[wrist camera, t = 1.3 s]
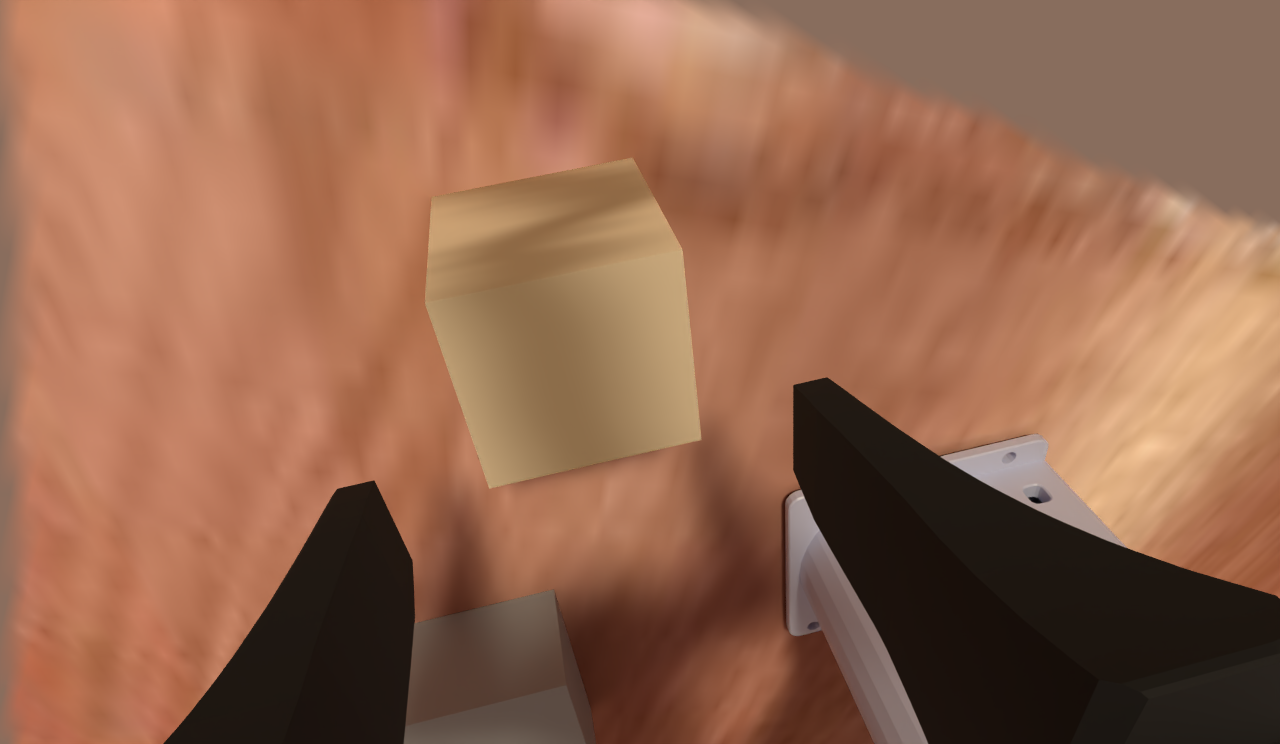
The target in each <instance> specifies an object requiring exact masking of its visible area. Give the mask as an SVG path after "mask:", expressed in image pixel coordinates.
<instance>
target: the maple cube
mask: <svg viewBox="0 0 1280 744" xmlns="http://www.w3.org/2000/svg"><path fill="white" fill-rule="evenodd" d="M425 305H426V308H427V311H428V313H429V316H430V319H431V322H432V325H433V328H434V331H435V334H436V336H437V339H438V342H439V345H440V348H441V351H442V354H443V357H444V359H445V362H446V365H447V368H448V371H449V374H450V377H451V380H452V383H453V385H454V388H455V391H456V394H457V397H458V400H459V403H460V406H461V408H462V411H463V414H464V417H465V420H466V423H467V426H468V429H469V431H470V434H471V437H472V440H473V443H474V446H475V449H476V452H477V454H478V457H479V460H480V463H481V466H482V469H483V472H484V475H485V477H486V480H487V483H488V486H489V489H490V488H494V487H498V486H503V485H507V484H511V483H516V482H520V481H524V480H529V479H533V478H537V477H542V476H546V475H550V474H555V473H559V472H563V471H568V470H572V469H577V468H581V467H585V466H590V465H594V464H598V463H603V462H607V461H611V460H616V459H620V458H624V457H629V456H633V455H637V454H642V453H646V452H650V451H655V450H659V449H663V448H668V447H672V446H676V445H681V444H685V443H689V442H694V441H698V440H701V431H700V421H699V411H698V401H697V391H696V381H695V371H694V361H693V351H692V341H691V331H690V321H689V311H688V301H687V290H686V280H685V270H684V260H683V250H682V248H681V246H680V244H679V242H678V240H677V239H676V237H675V235H674V233H673V231H672V229H671V228H670V226H669V224H668V222H667V220H666V218H665V216H664V215H663V213H662V211H661V209H660V207H659V205H658V204H657V202H656V200H655V198H654V196H653V194H652V193H651V191H650V189H649V187H648V185H647V183H646V181H645V180H644V178H643V176H642V174H641V172H640V170H639V169H638V167H637V165H636V163H635V161H634V159H633V158H628V159H623V160H618V161H613V162H608V163H603V164H598V165H593V166H588V167H582V168H577V169H572V170H567V171H562V172H557V173H552V174H547V175H542V176H537V177H531V178H526V179H521V180H516V181H511V182H506V183H501V184H496V185H491V186H485V187H480V188H475V189H470V190H465V191H460V192H455V193H450V194H445V195H440V196H434V197H432V199H431V214H430V230H429V246H428V261H427V277H426V292H425Z"/></svg>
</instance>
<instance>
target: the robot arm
mask: <svg viewBox="0 0 1280 744" xmlns="http://www.w3.org/2000/svg"><path fill="white" fill-rule="evenodd" d="M1047 450H1048V442H1047V441H1046V440H1045V439H1044V438H1043V437H1042V436H1041V435H1039V434H1032V435H1027V436H1023V437H1019V438H1015V439H1011V440H1006V441H1002V442H998V443H994V444H990V445H986V446H981V447H977V448H973V449H969V450H965V451H960V452H956V453H952V454H948V455H944V456H938V455H937V454H935V453H934V452H932V451H931V450H929V449H928V448H926V447H925V446H923V445H922V444H920V443H919V442H917V441H916V440H914V439H913V438H911V437H910V436H908V435H907V434H905V433H904V432H902V431H901V430H899V429H898V428H897V427H895V426H894V425H892V424H891V423H889V422H888V421H887V420H885V419H884V418H882V417H881V416H880V415H878V414H877V413H876V412H874V411H873V410H871V409H870V408H869V407H867V406H866V405H865V404H863V403H862V402H860V401H859V400H858V399H856V398H855V397H854V396H852V395H851V394H850V393H848V392H847V391H845V390H844V389H843V388H841V387H840V386H839V385H837V384H836V383H834V382H833V381H832V380H830V379H829V378H822V379H818V380H813V381H809V382H805V383H800V384H796V385H793V470H794V473H795V475H796V478H797V480H798V483H799V485H800V488H801V490H798V491H795V492H793V493H792V494H790V495H789V497H788V498H787V499H786V503H785V534H786V625H787V628H788V630H789V632H790V634H792V635H794V636H802V635H806V634H809V633H813V632H817V631H821V630H822V631H823V633H824V635H825V638H826V640H827V642H828V644H829V646H830V648H831V651H832V653H833V655H834V657H835V659H836V661H837V664H838V666H839V668H840V670H841V672H842V675H843V677H844V679H845V681H846V683H847V685H848V688H849V690H850V692H851V694H852V696H853V698H854V701H855V703H856V705H857V707H858V709H859V711H860V714H861V716H862V718H863V720H864V722H865V725H866V727H867V729H868V731H869V733H870V735H871V738H872V740H873V742H874V744H1280V599H1279V598H1278V597H1277V596H1275V595H1272V594H1268V593H1265V592H1262V591H1258V590H1255V589H1251V588H1248V587H1245V586H1241V585H1238V584H1234V583H1231V582H1228V581H1224V580H1221V579H1217V578H1214V577H1211V576H1207V575H1204V574H1200V573H1197V572H1194V571H1191V570H1187V569H1184V568H1181V567H1178V566H1176V565H1173V564H1170V563H1167V562H1164V561H1161V560H1158V559H1156V558H1153V557H1150V556H1147V555H1144V554H1141V553H1139V552H1136V551H1133V550H1130V549H1128V548H1127V547H1126V546H1125V545H1124V544H1123V543H1122V542H1121V541H1120V540H1119V539H1118V538H1117V537H1116V536H1115V534H1114V533H1113V532H1112V531H1111V530H1110V529H1109V528H1108V527H1107V526H1106V525H1105V524H1104V523H1103V522H1102V521H1101V520H1100V518H1099V517H1098V516H1097V515H1096V514H1095V513H1094V512H1093V511H1092V510H1091V509H1090V508H1089V507H1088V506H1087V505H1086V504H1085V503H1084V501H1083V500H1082V499H1081V498H1080V497H1079V496H1078V495H1077V494H1076V493H1075V492H1074V491H1073V490H1072V489H1071V488H1070V487H1069V485H1068V484H1067V483H1066V482H1065V481H1064V480H1063V479H1062V478H1061V477H1060V476H1059V475H1058V474H1057V473H1056V472H1055V471H1054V469H1053V468H1052V467H1051V466H1050V465H1049V464H1048V463H1047V462H1046V461H1045V457H1046V454H1047ZM414 622H415V607H414V581H413V562H412V559H411V557H410V554H409V552H408V550H407V548H406V546H405V544H404V542H403V540H402V538H401V536H400V533H399V531H398V529H397V527H396V525H395V523H394V521H393V519H392V517H391V514H390V512H389V510H388V508H387V506H386V504H385V502H384V500H383V498H382V496H381V493H380V491H379V489H378V487H377V485H376V483H375V481H370V482H365V483H361V484H357V485H352V486H348V487H343V488H339V489H337V490H336V491H335V493H334V494H333V496H332V497H331V499H330V501H329V503H328V504H327V506H326V508H325V509H324V511H323V513H322V515H321V516H320V518H319V520H318V522H317V524H316V525H315V527H314V529H313V531H312V532H311V534H310V536H309V538H308V539H307V541H306V543H305V544H304V546H303V548H302V550H301V551H300V553H299V555H298V556H297V558H296V560H295V562H294V563H293V565H292V566H291V568H290V570H289V571H288V573H287V575H286V576H285V578H284V580H283V581H282V583H281V584H280V586H279V588H278V589H277V591H276V593H275V594H274V596H273V598H272V599H271V601H270V602H269V604H268V605H267V607H266V609H265V610H264V612H263V613H262V615H261V616H260V617H259V619H258V620H257V622H256V623H255V625H254V626H253V628H252V629H251V631H250V632H249V634H248V635H247V637H246V638H245V640H244V641H243V643H242V644H241V646H240V647H239V649H238V650H237V651H236V653H235V654H234V656H233V657H232V659H231V660H230V661H229V663H228V664H227V665H226V667H225V668H224V669H223V671H222V672H221V674H220V675H219V676H218V678H217V679H216V680H215V682H214V683H213V684H212V686H211V687H210V688H209V689H208V691H207V692H206V693H205V695H204V696H203V697H202V698H201V700H200V701H199V702H198V703H197V705H196V706H195V707H194V708H193V710H192V711H191V712H190V713H189V715H188V716H187V717H186V718H185V719H184V721H183V722H182V723H181V724H180V725H179V727H178V728H177V729H176V730H175V731H174V732H173V733H172V735H171V736H170V737H169V738H168V739H167V740H166V741H165V742H164V744H404V736H405V725H406V714H407V703H408V692H409V681H410V670H411V658H412V647H413V635H414Z"/></svg>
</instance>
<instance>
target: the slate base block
mask: <svg viewBox="0 0 1280 744" xmlns="http://www.w3.org/2000/svg"><path fill="white" fill-rule="evenodd" d="M404 744H596V739H595V733H594V726H593V720H592V713H591V708H590V705H589V701H588V698H587V695H586V692H585V688H584V685H583V682H582V679H581V675H580V672H579V669H578V666H577V663H576V659H575V656H574V653H573V650H572V646H571V643H570V640H569V637H568V633H567V630H566V627H565V624H564V621H563V617H562V614H561V611H560V608H559V604H558V601H557V598H556V595H555V591H554V590H549V591H545V592H541V593H537V594H533V595H529V596H525V597H521V598H517V599H513V600H508V601H504V602H500V603H496V604H492V605H488V606H484V607H480V608H476V609H472V610H467V611H463V612H459V613H455V614H451V615H447V616H443V617H439V618H435V619H431V620H426V621H422V622H418V623H414V635H413V647H412V658H411V670H410V681H409V692H408V703H407V714H406V725H405V736H404Z"/></svg>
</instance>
